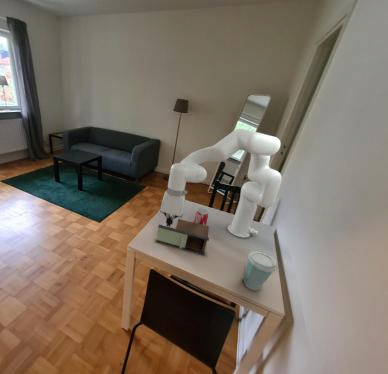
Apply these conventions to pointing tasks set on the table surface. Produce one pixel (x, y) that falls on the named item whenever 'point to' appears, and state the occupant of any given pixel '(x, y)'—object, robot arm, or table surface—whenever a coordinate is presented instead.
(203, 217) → the soda can
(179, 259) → the table surface
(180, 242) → the pale green block
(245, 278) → the disposable coffee cup
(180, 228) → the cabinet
